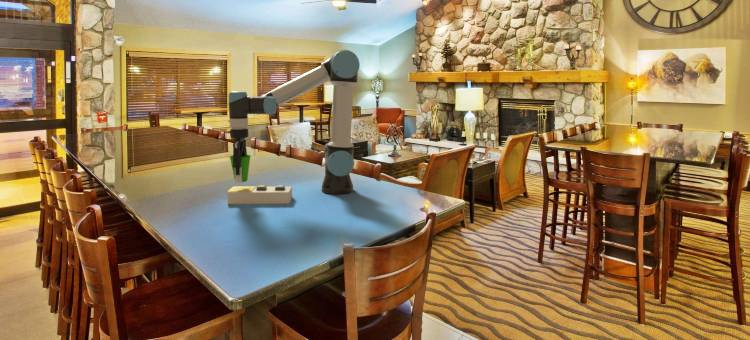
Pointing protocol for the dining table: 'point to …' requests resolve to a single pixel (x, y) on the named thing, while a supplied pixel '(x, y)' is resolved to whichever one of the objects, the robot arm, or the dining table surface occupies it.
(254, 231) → the dining table surface
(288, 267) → the dining table surface
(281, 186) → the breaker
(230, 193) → the box
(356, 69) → the robot arm
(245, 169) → the cup
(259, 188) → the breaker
